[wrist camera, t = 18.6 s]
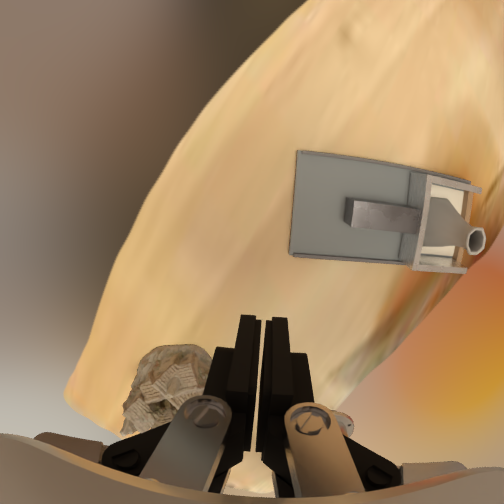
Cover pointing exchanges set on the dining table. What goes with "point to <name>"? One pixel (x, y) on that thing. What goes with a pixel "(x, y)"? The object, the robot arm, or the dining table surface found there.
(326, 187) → the base board
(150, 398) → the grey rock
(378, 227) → the housing
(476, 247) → the flask
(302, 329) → the dining table surface
